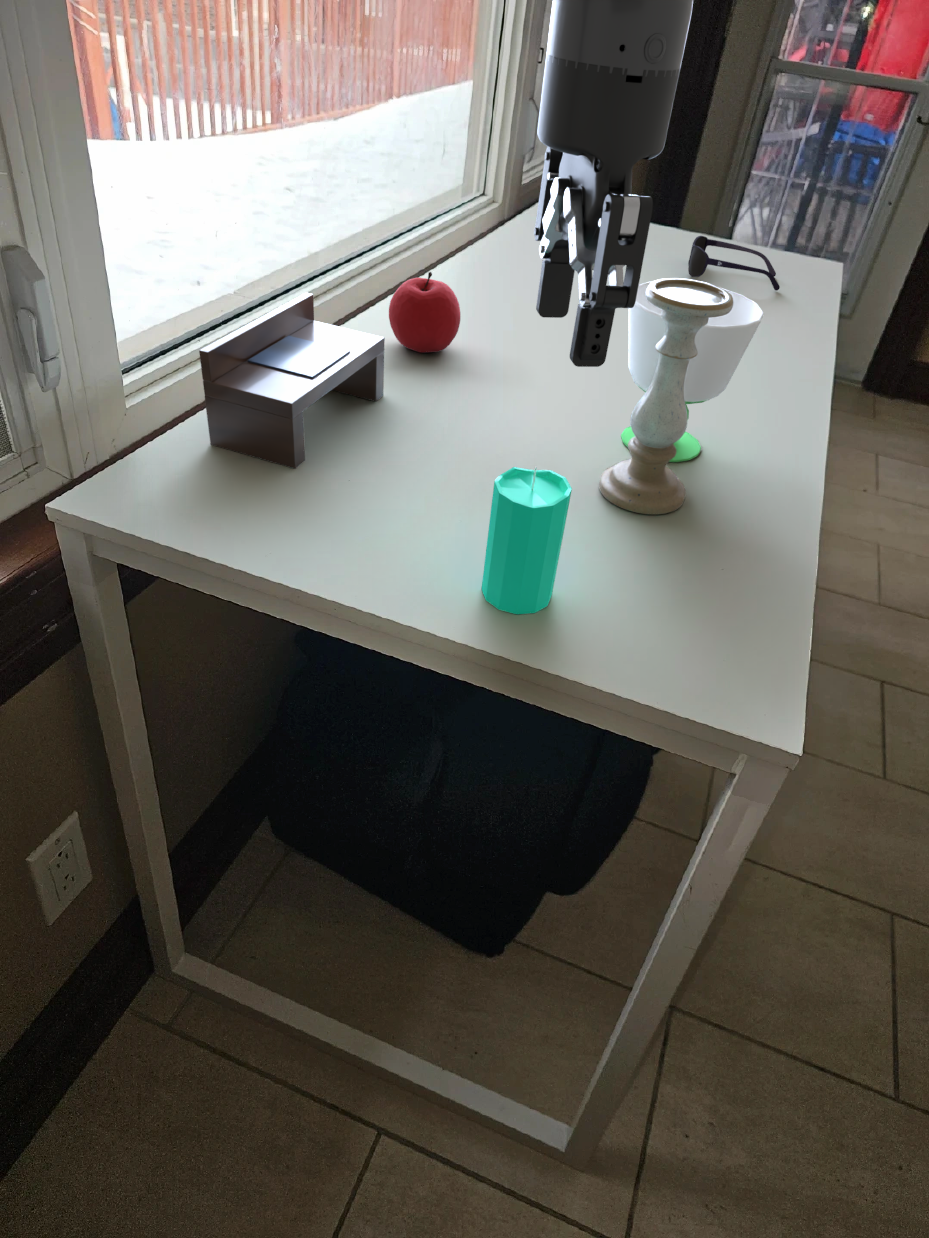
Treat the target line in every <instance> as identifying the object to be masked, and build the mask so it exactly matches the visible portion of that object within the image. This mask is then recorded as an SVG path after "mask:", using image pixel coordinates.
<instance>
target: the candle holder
mask: <svg viewBox="0 0 929 1238" xmlns="http://www.w3.org/2000/svg"><path fill="white" fill-rule="evenodd" d="M652 281H653V282H652V283H650V284H649V286H648V287H647V290H646V298H647V300H648V301H649V302H650V303H651V304H653V305H654V306H656V307H658V308H660V309H662V311H661V317H662V319H663V320H664V322H665V325H666V332H665V335H664V337H663V338H662V339H661V340H660V341H659V342H658V343H657V344H656V346H655V348H656V350H657V351H658V352H659V353H660V354H659V360H658V364H657V368H656V371H655V374H654V378H653V380H652V383H651V385H650V386H649V388H648V390H647V391H646V392H644V393H643V395H642V396H641V397H640V398H639V400H638V401H637V403H636V404H635V406H634V407H633V410H632V411H631V414H630V419H629V423H630V425H629V426H631V429H632V431H633V433H634V435H635V437H633V438H631V439H630V441H629V442H628V447H627V449H628V451H629V452H630V456H631V458H629V459H627V458H626V459H624V460H621V461H619V462H617V463H616V464H615V465H611V466H609V467H607V468H606V469H604V470H603V471H602V472H601V474H600V478H599V483H598V488H599V491H600V493H601V495H602V496H603V497H604V498H605V499H606V500H607V501H608V502H610V503H611V504H613V505H615V506H616V507H619V508H621V509H623V510H626V511H629V512H632V513H637V514H643V515H664V514H665V515H666V514H669V513H672V512H674V511H677V510H678V509H679V508H681V507H682V505H683V504H684V501H685V499H686V496H687V490H686V487H685V485H684V483H683V481H681V480H680V478H679V477H678V476H677V473H676V472H675V471H673V469H672V468H670V467H668V466H667V464H668V463H670V462H669V461H670V460H671V459H672V458H674V457H675V455H676V447H675V446H674V445H673V444H674V443H675V442H677V441H678V440H679V439H680V438H681V437H682V436H683V434H684V433H685V432H687V431H686V430H687V427H688V422H689V421H688V420H689V419H687V409H686V405H687V404H685V399H684V382H685V377H686V372H687V368H688V364H689V361H690V359H691V358H694V357H696V356H697V354H698V351H697V348H696V345H695V336H696V334H697V332H698V331H699V330H700V329H701V328H702V327H704V326H705V325H706V324H707V323H708V320H709V318H711V317H719V316H723V315H726V314H728V313H729V312H730V311H731V310H732V308H733V297H732V296H731V294H730V293H729V292H727V291H726V290H724V289H725V288H724V289H722V288H723V287H721V286H718V285H715V284H712V283H709V282H705V281H700V280H696V279H690V278H681V277H680V278H679V277H667V278H659V279H656V280H652ZM720 287H721V288H720Z"/></svg>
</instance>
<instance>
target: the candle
mask: <svg viewBox="0 0 929 1238" xmlns="http://www.w3.org/2000/svg"><path fill="white" fill-rule="evenodd" d="M572 490H573V488H572V486H571V484H570V482H569V480H568V479H567V477H566V476H563V475H561V474H560V473H557V472H556V471H554V470H552V469H538V467H537V466H534V469H531V468H523V467H517V466H513V467H511V468H509V469H507V470H506V471H504V472H503V473H500V474H499V475H498V476H497V477H496V478H495V480H494V481H493V490H492V497H491V498H492V499H491V507H490V515H489V523H488V531H487V532H488V533H487V541H486V546H485V547H486V548H485V556H484V565H483V573H482V581H481V582H482V583H481V591H482V594H483V597H484V600H485V601H486V602H487V603H489V604H490V605H492V606H493V607H494V608H496V609H497V610H499V611H502V612H506V613H510V614H514V615H527V614H536V613H538V612H540V611H542V610H543V609H545V608H546V607H548V606H549V604H550V601H551V599H552V597H553V591H554V586H555V581H556V575H557V570H558V566H559V560H560V554H561V549H562V543H563V538H564V533H565V527H566V522H567V517H568V510H569V505H570V500H571V496H572V495H571V494H572Z"/></svg>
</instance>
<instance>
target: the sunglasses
mask: <svg viewBox="0 0 929 1238" xmlns="http://www.w3.org/2000/svg"><path fill="white" fill-rule="evenodd" d="M708 246H710V247H715V248H723V249H728V250H735V251H741V252H745V253H749V254H753V255H755V256H758V257H759V258H760V259H762V260H763V261H764V263H765V266H766V267H767V270H765V269H763V268H757V267H753V266H748V265H744V264H740V263H736V262H731V261H725V260H722V259H717V258H711V257H710V256H709V254H708V253H707V252H706V249H707V247H708ZM708 266H713V267H714V266H715V267H720V268H727V269H734V270H740V271H748V272H754V273H759V274H762V275H765V276H767V277H768V279H769V281H770V283H771V285H772V287H773V290H774V291H778V290H780V288H781V287H780V284H779V282H778V281H777V279H776V278H775V277H776V275H777V272H776V270H775V268H774V267H773V265H772V263H771V261H770V260H769V258H768V257H767V256H766V255H765V254H763V253H762V252H761V251H758V250H755V249H752V248H749V247H746V246H742V245H740V244H739V245H738V244H734V243H730V242H726V241H721V240H718V239H717V240H716V239H711V238H708V237H707V236H705V235H698V236H696V237H695V239H694V240H693V242H692V245H691V249H690V253H689V260H688V268H687V269H688V275H689V276H690V277H691V278H698V277H701V276H702V275H703V274H704V273H705V272H706V270H707V267H708Z"/></svg>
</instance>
